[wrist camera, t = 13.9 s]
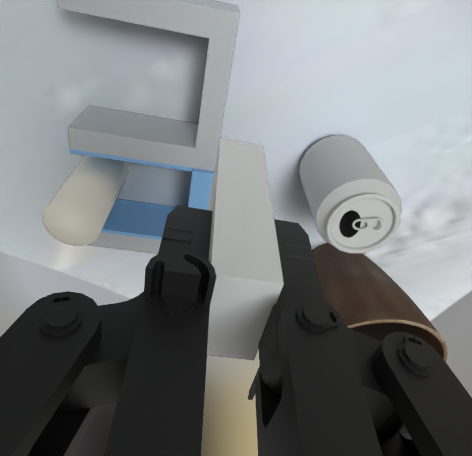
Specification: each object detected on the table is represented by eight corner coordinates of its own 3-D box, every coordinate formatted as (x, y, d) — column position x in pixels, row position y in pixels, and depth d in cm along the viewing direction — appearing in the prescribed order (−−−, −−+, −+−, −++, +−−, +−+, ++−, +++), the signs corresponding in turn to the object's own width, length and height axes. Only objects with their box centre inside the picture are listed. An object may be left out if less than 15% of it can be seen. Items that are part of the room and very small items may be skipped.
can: (296, 136, 39) (319, 195, 29) (368, 127, 38) (416, 183, 29) (298, 196, 43) (319, 265, 33) (363, 189, 43) (403, 256, 33)
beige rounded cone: (82, 142, 39) (38, 196, 30) (128, 149, 39) (99, 204, 30) (84, 181, 42) (46, 242, 33) (128, 188, 42) (101, 248, 33)
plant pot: (405, 220, 45) (476, 323, 33) (370, 303, 54) (415, 410, 41) (286, 214, 45) (310, 317, 32) (270, 299, 53) (284, 407, 40)
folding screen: (82, -28, 30) (51, -25, 25) (238, 5, 32) (240, 14, 26) (94, 212, 44) (76, 247, 39) (202, 227, 46) (199, 262, 40)
